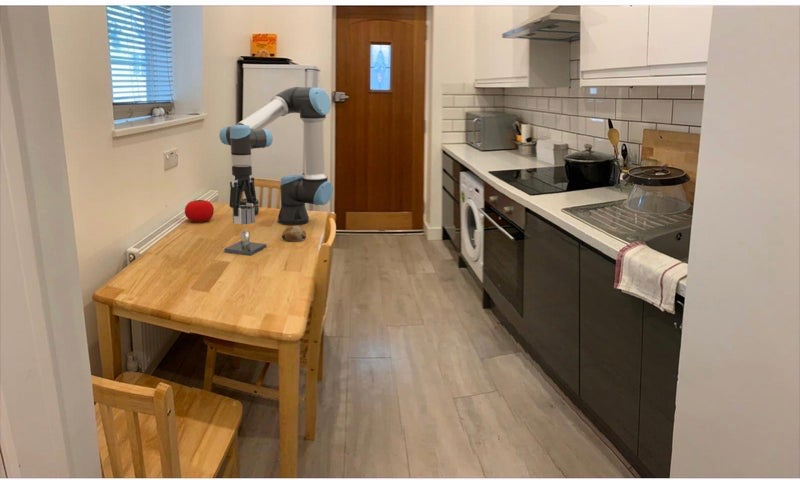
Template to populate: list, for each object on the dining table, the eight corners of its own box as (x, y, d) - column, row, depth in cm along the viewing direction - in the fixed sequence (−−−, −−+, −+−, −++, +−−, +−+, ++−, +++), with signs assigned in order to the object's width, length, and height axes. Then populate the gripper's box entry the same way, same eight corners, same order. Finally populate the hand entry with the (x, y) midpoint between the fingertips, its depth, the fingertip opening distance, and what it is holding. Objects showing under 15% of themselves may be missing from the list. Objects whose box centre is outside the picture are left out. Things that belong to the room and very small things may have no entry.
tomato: (202, 225, 258) (201, 203, 255) (179, 222, 261) (177, 201, 259) (220, 218, 271) (219, 198, 268) (198, 216, 275) (196, 196, 272)
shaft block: (241, 244, 230) (240, 225, 228) (266, 247, 227) (265, 228, 225) (224, 252, 219) (223, 232, 217) (250, 255, 216) (249, 235, 214)
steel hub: (240, 218, 225) (240, 204, 223) (258, 220, 222) (258, 206, 221) (229, 223, 217) (228, 208, 215) (247, 225, 215) (247, 210, 213)
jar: (235, 214, 282) (234, 199, 280) (251, 211, 289) (250, 197, 287) (246, 217, 276) (245, 202, 273) (263, 214, 283) (262, 200, 281)
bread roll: (296, 250, 236) (303, 235, 234) (276, 239, 237) (283, 223, 234) (305, 244, 246) (312, 229, 243) (285, 233, 246) (292, 218, 243)
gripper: (247, 161, 224) (250, 214, 230) (217, 167, 205) (220, 226, 211) (264, 162, 222) (265, 216, 228) (234, 169, 203) (237, 228, 209)
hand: (244, 221), depth 220 cm, fingers closed on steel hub, 8 cm apart
